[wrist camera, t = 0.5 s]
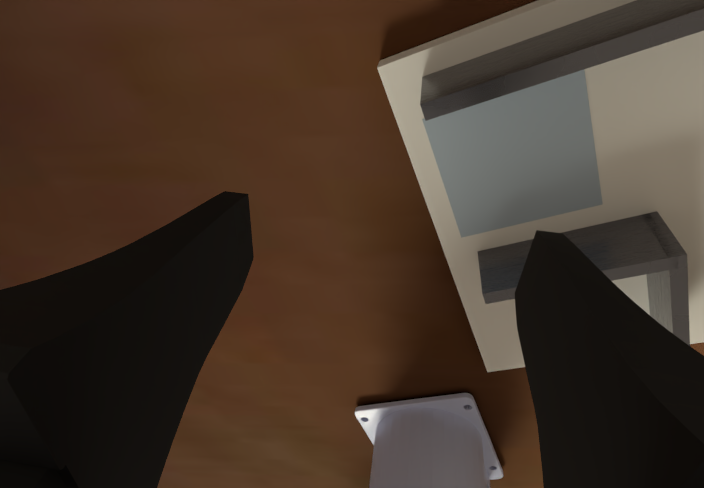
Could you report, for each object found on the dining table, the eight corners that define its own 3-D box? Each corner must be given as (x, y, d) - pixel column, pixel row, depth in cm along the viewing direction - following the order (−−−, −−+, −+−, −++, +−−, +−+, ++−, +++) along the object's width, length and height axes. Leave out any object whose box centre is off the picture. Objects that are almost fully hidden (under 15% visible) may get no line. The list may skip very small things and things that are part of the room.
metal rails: (890, 293, 21) (949, 344, 18) (508, 350, 26) (516, 396, 24) (1000, -131, 13) (1129, -136, 10) (422, 76, 18) (419, 104, 16)
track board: (892, 298, 22) (910, 314, 21) (486, 358, 28) (487, 372, 27) (1021, -184, 13) (1061, -190, 12) (379, 60, 19) (376, 68, 18)
